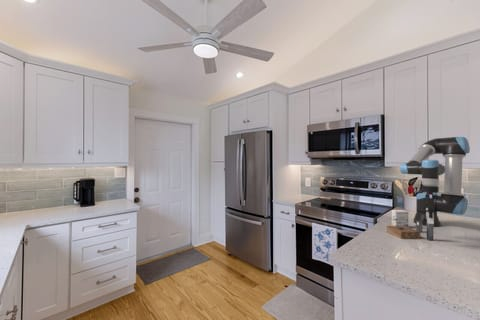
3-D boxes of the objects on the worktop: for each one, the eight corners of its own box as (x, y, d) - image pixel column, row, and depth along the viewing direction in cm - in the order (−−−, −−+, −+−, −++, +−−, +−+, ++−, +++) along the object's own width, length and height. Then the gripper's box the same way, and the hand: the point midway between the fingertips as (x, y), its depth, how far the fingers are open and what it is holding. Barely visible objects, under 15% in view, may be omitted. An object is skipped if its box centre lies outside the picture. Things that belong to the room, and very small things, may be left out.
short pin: (419, 231, 140) (419, 220, 140) (423, 232, 137) (423, 221, 137) (414, 231, 140) (414, 220, 140) (418, 232, 137) (418, 221, 137)
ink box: (403, 226, 151) (403, 210, 151) (408, 228, 146) (408, 211, 146) (391, 225, 151) (391, 209, 151) (395, 228, 146) (395, 211, 146)
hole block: (404, 231, 138) (404, 225, 138) (420, 238, 126) (420, 232, 126) (386, 231, 138) (386, 225, 138) (401, 238, 126) (401, 232, 126)
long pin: (430, 238, 126) (430, 215, 126) (434, 240, 123) (434, 217, 123) (425, 238, 126) (425, 215, 126) (429, 240, 123) (429, 217, 123)
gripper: (421, 183, 137) (420, 216, 136) (422, 186, 117) (422, 224, 117) (436, 184, 132) (436, 218, 132) (440, 187, 113) (440, 227, 112)
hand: (429, 221), depth 124 cm, fingers open, 13 cm apart
